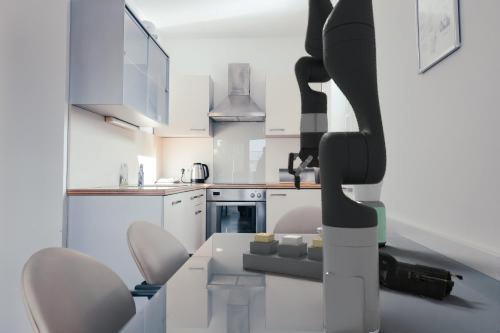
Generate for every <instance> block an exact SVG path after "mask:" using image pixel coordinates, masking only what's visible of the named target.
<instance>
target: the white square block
mask: <svg viewBox="0 0 500 333" xmlns="http://www.w3.org/2000/svg"><path fill="white" fill-rule="evenodd" d="M303 242H304V241H303V235H295V234H287V235H284V236H282V237H281V243H282V245H293V246H299V245H301V244H303Z"/></svg>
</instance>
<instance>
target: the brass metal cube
mask: <svg viewBox="0 0 500 333" xmlns="http://www.w3.org/2000/svg"><path fill="white" fill-rule="evenodd" d="M312 245H313V247H314V248H322V237H318V236H317V237H314V238H313V239H312Z"/></svg>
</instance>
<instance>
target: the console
mask: <svg viewBox="0 0 500 333" xmlns="http://www.w3.org/2000/svg"><path fill="white" fill-rule="evenodd" d="M242 268H243V269H249V270H255V271H263V272H271V273H279V274H284V275H291V276H292V275H293V276H298V277H299V276H300V277H306V278H313V279H314V278H315V279H320V280H323V252H322V248H314V247H313V244H312V245H310V246H308V242H304V241H303V244H301V245H299V246H293V245H282V242H280V240H279V239H274V241H273V242H270V243H261V242H255V239H254V240H252V241H250V242H249V251H247V252H243V253H242Z"/></svg>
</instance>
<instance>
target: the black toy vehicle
mask: <svg viewBox="0 0 500 333" xmlns="http://www.w3.org/2000/svg"><path fill="white" fill-rule="evenodd" d="M378 255H379V284H382V283H383V285H384V286H387V288H388V289H391V288H392V290H395V289H396V290H395V291H399V290H400V292H404V293H408V294H412V295H415V296H418V297H419V296H420V297H423V296H424V297H423V298H427V297H428V299H433V300H436V301H437V300H438V301H443V300H444V299H445V298H447V297H448V296H449V295H450V294H451V293H452V291H453V288H454V287H455V281H453V279H452V277H455V278H457V279H458V280H460V281H463V280H464V277H463V275H459V274H453V273H451V271H449V270H446V269H445V268H439V267H435V266H429V265H424V264H419V263H416V264H414V263H413V264H412V263H409V262H408V263H407V262H404V261H403V262H402V261H399V260H397V258H396V257H394V256H393V255H391V254H389V253H387V252H383V251H380V250H378ZM381 282H382V283H381Z"/></svg>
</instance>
